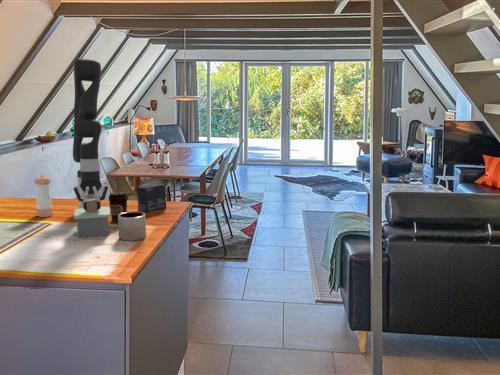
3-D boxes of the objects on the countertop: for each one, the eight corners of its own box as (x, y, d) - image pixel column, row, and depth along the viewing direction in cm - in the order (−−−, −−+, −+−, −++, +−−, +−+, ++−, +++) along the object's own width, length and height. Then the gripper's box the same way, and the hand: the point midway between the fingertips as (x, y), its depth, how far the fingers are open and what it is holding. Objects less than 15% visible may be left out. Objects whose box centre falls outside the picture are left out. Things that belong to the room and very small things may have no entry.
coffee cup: (123, 224, 225) (122, 195, 222) (105, 223, 226) (104, 194, 224) (131, 219, 233) (130, 191, 231) (114, 218, 235) (113, 190, 232)
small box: (157, 205, 260) (156, 182, 258) (166, 207, 257) (166, 184, 254) (137, 210, 250) (136, 186, 248) (147, 212, 246) (146, 188, 244)
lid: (75, 212, 215) (74, 197, 213) (109, 210, 219) (108, 195, 217) (74, 220, 202) (73, 204, 200) (110, 218, 206) (109, 202, 204)
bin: (78, 229, 215) (77, 211, 214) (108, 227, 219) (107, 209, 217) (77, 237, 204) (76, 218, 203) (108, 235, 208) (107, 216, 206)
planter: (121, 234, 210) (120, 211, 208) (147, 233, 211) (146, 211, 209) (116, 241, 199) (115, 218, 198) (144, 241, 200) (143, 217, 198)
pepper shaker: (33, 216, 237) (29, 175, 233) (44, 212, 244) (41, 173, 240) (45, 217, 235) (42, 176, 231) (56, 214, 241) (53, 174, 237)
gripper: (107, 167, 212) (109, 207, 215) (71, 168, 208) (74, 209, 211) (108, 170, 205) (110, 211, 208) (71, 171, 201) (73, 213, 204)
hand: (92, 210), depth 210 cm, fingers closed on lid, 4 cm apart
